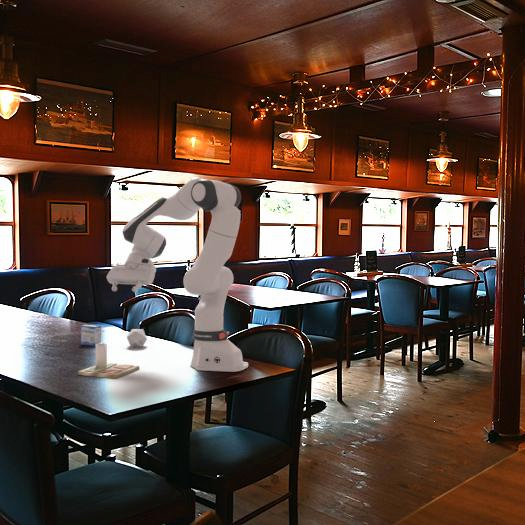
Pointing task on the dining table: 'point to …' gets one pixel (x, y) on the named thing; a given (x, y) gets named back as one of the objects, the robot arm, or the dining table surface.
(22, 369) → the dining table surface
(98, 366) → the salt shaker
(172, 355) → the dining table surface
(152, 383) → the dining table surface
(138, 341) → the die
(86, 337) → the medicine box
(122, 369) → the board
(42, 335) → the dining table surface
